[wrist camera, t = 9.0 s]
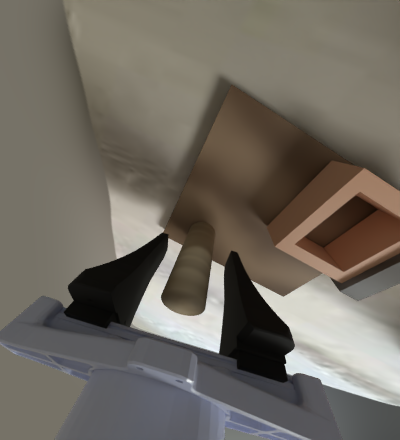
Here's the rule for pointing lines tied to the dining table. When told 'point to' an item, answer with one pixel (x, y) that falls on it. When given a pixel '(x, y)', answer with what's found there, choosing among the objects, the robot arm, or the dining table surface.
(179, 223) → the base board
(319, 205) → the socket block
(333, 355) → the dining table surface
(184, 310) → the dowel
